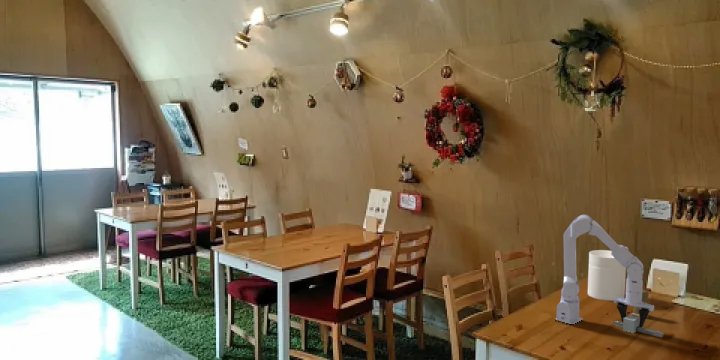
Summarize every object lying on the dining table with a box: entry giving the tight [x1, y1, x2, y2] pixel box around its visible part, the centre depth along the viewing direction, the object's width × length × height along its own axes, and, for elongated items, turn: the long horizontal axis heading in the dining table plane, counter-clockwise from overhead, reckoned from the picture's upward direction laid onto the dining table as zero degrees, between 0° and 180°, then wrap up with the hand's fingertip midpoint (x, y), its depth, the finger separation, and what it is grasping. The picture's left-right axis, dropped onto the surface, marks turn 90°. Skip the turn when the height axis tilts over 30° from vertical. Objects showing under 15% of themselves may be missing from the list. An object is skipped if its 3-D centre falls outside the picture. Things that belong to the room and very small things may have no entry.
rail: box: [613, 320, 664, 338], centre depth 218 cm, size 2×18×2 cm, turn 43°
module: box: [622, 312, 640, 334], centre depth 219 cm, size 9×4×5 cm, turn 133°
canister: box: [587, 249, 627, 302], centre depth 262 cm, size 16×16×20 cm
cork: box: [632, 289, 650, 319], centre depth 235 cm, size 6×6×11 cm
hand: (632, 324), depth 219 cm, fingers open, 6 cm apart
